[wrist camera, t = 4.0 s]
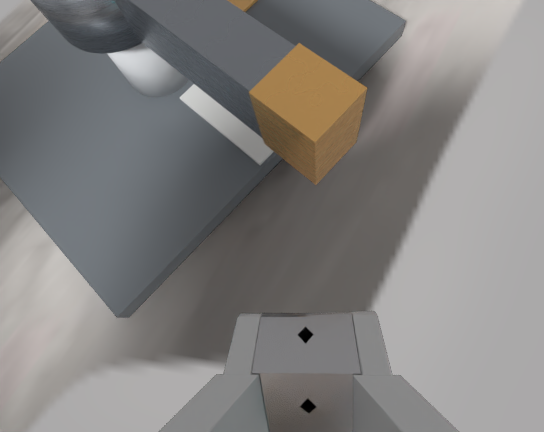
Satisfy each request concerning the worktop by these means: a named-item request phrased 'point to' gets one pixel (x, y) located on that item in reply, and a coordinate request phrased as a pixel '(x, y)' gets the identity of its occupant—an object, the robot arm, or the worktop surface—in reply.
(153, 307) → the worktop surface
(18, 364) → the worktop surface
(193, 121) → the board
